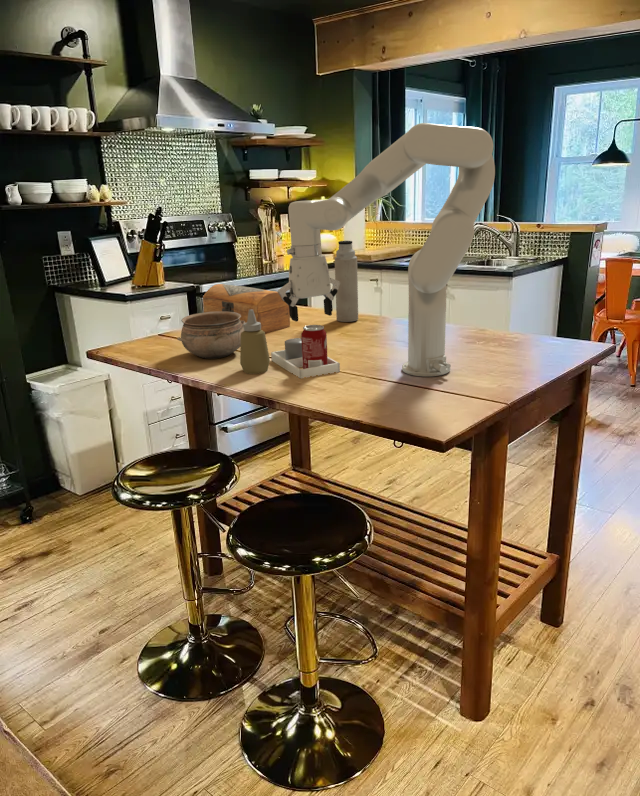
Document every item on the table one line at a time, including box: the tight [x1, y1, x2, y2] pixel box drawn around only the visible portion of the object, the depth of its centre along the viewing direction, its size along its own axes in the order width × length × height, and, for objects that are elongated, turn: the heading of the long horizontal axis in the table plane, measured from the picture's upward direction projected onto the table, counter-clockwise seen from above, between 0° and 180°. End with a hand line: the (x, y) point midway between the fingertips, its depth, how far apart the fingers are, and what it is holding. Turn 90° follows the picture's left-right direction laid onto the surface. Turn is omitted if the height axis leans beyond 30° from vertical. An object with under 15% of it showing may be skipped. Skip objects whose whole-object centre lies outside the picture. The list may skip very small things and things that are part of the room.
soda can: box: [300, 324, 328, 369], centre depth 169 cm, size 7×7×12 cm
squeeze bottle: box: [239, 310, 271, 375], centre depth 170 cm, size 8×8×18 cm
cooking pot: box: [177, 311, 245, 360], centre depth 189 cm, size 25×19×12 cm
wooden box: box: [202, 283, 291, 334], centre depth 226 cm, size 30×16×14 cm, turn 47°
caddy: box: [270, 337, 341, 379], centre depth 175 cm, size 20×12×7 cm, turn 25°
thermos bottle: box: [334, 240, 359, 323], centre depth 226 cm, size 8×8×28 cm
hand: (311, 317), depth 166 cm, fingers open, 9 cm apart
